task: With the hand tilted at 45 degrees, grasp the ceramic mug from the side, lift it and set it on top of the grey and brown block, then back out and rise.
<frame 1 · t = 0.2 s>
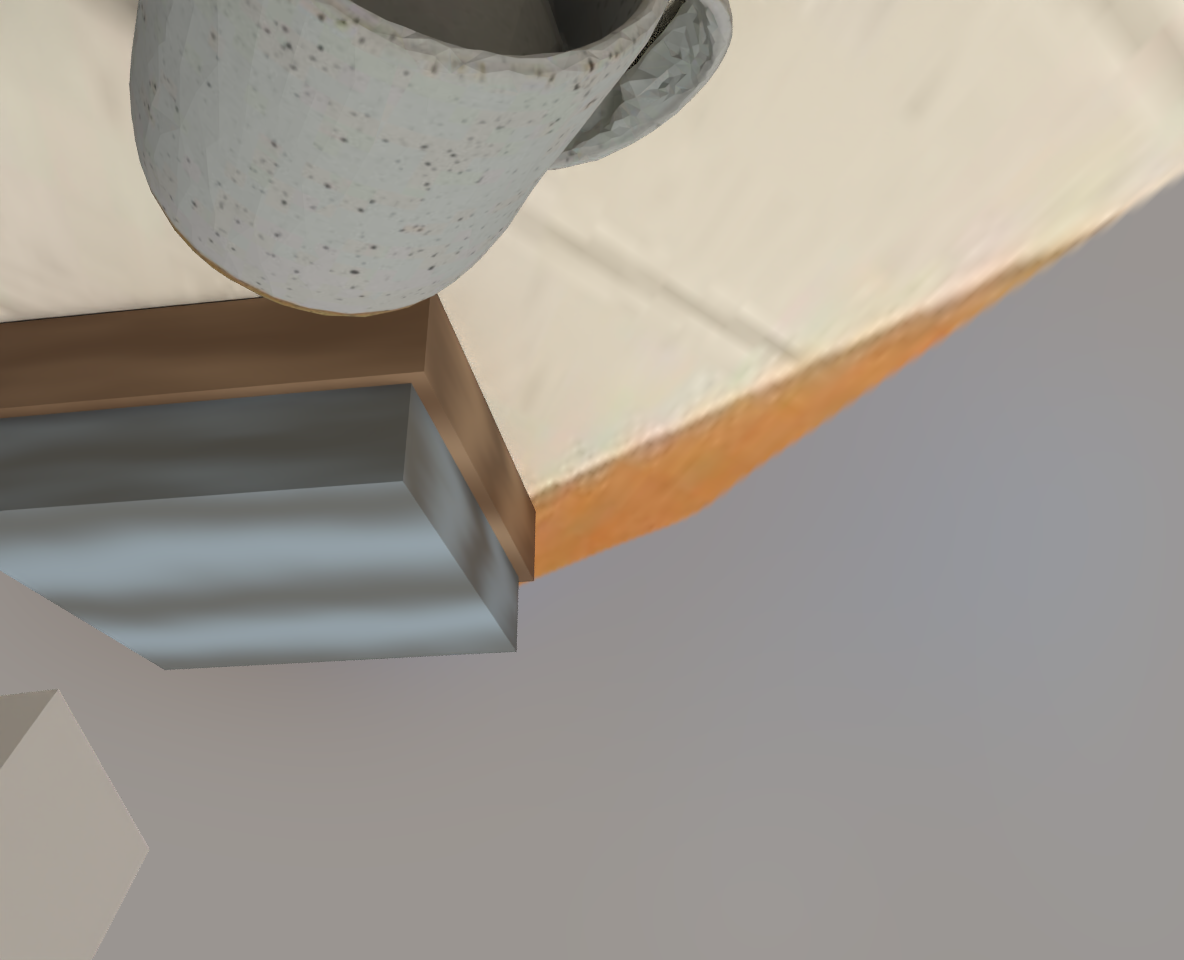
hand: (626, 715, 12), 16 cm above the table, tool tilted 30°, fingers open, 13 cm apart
grey and brown block: (283, 434, 38), on the table
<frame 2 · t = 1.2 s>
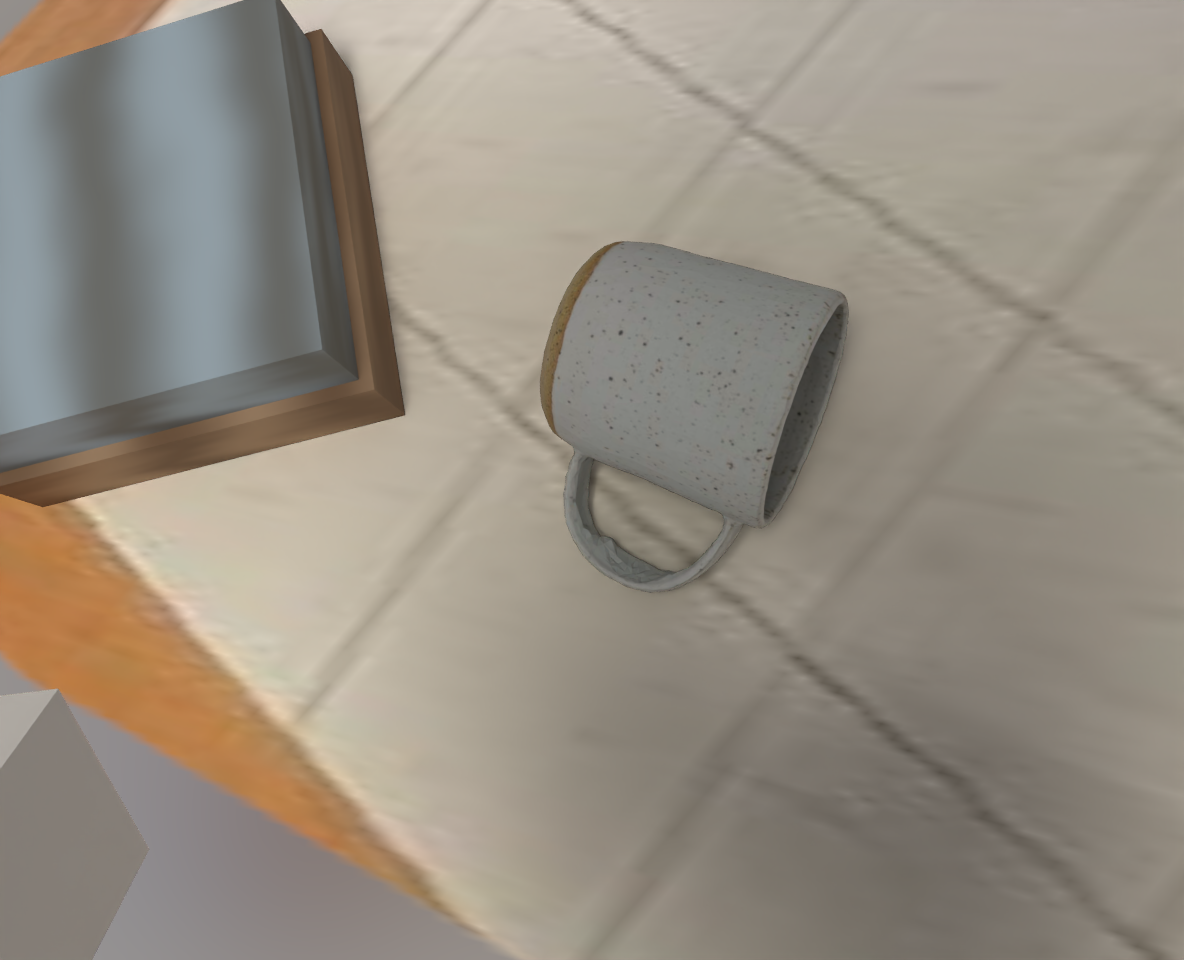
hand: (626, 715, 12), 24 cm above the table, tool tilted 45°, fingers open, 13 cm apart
ceramic mug: (696, 448, 38), on the table
grey and brown block: (201, 285, 43), on the table
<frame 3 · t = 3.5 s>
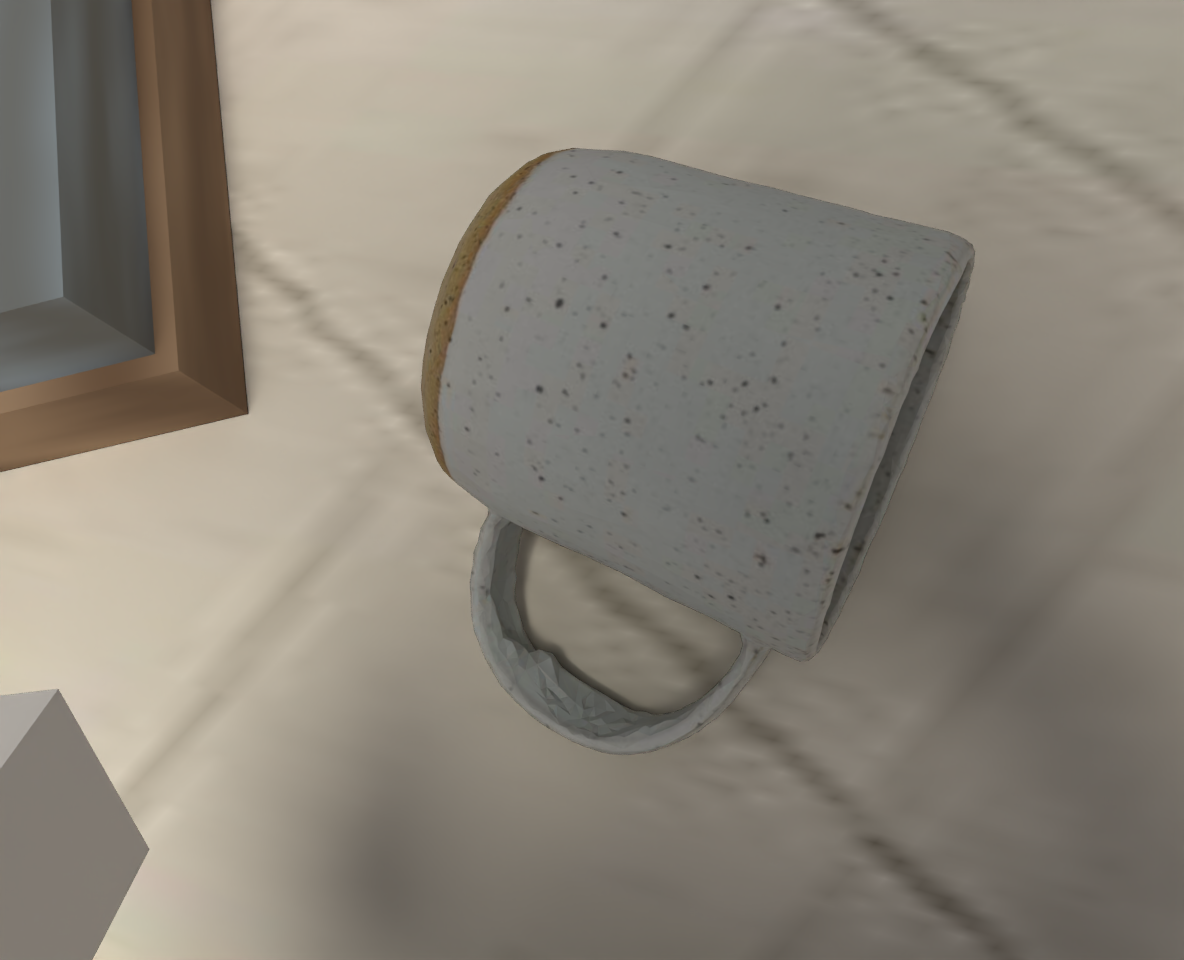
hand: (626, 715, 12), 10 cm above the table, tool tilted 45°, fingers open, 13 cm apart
ceramic mug: (696, 504, 23), on the table
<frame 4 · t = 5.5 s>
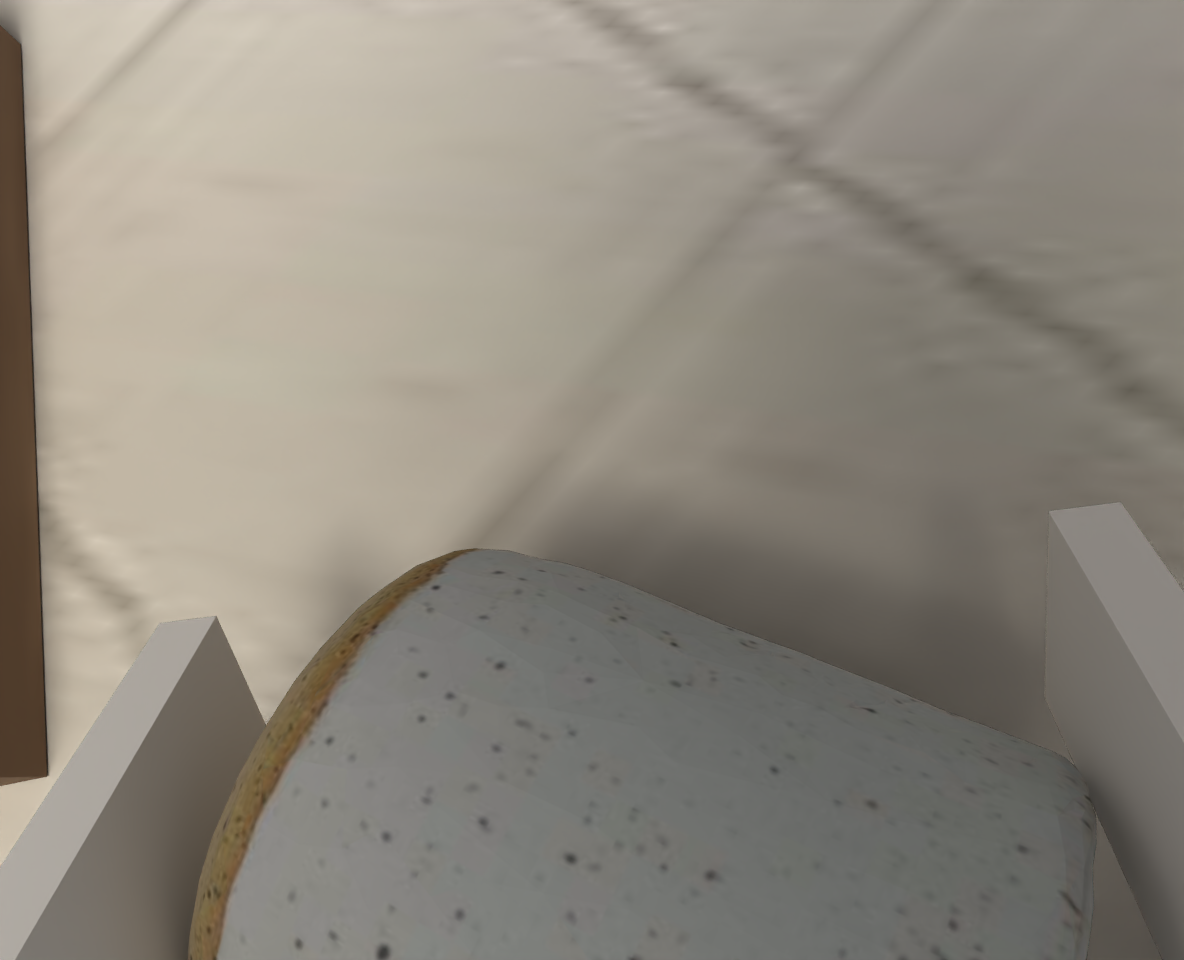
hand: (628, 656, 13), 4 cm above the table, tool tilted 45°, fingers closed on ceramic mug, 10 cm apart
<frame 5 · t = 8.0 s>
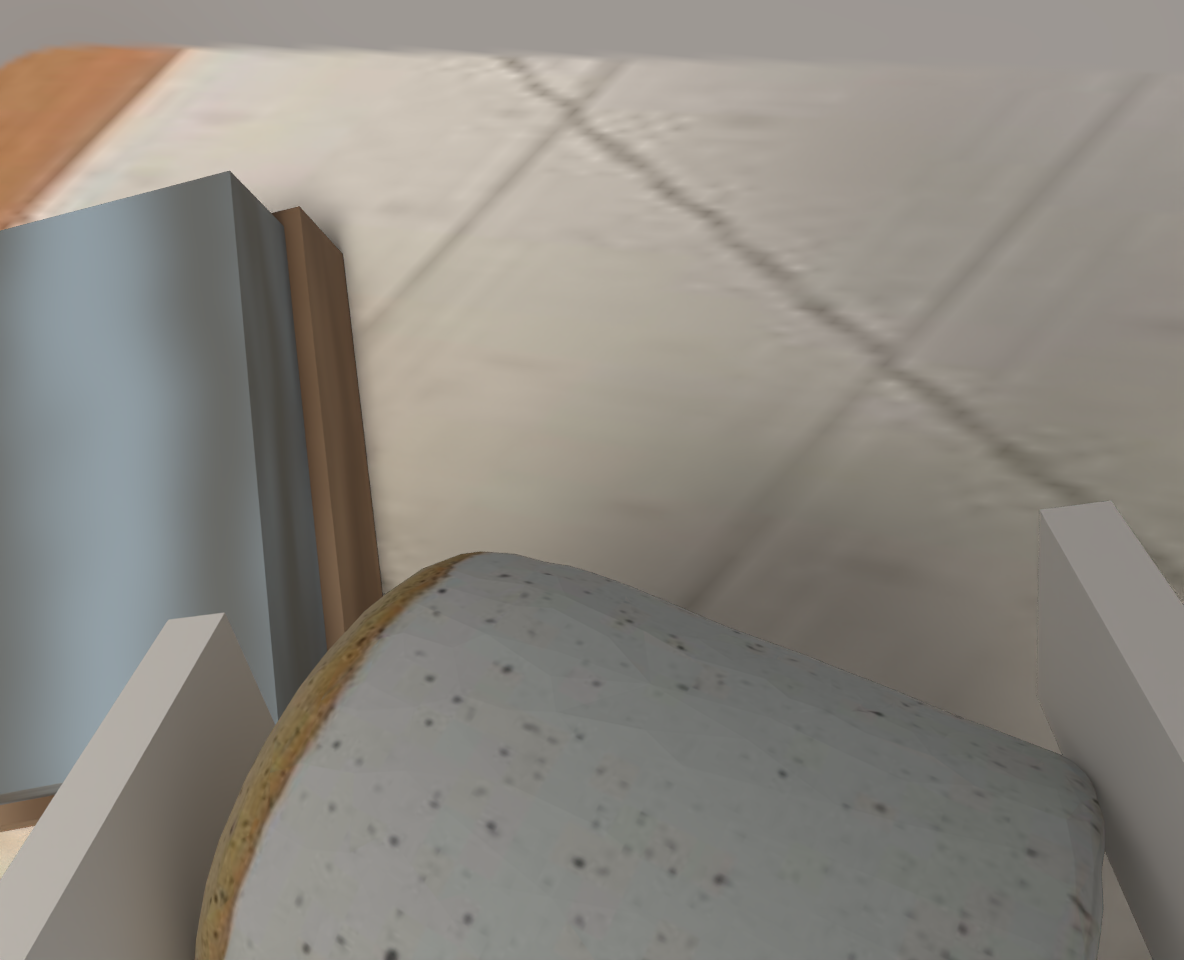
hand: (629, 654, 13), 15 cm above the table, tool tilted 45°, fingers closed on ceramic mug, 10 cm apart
grey and brown block: (128, 542, 31), on the table
when the fingers open (11 cm above the table, at t = 10.4 s): ceramic mug drops 1 cm, resting on grey and brown block.
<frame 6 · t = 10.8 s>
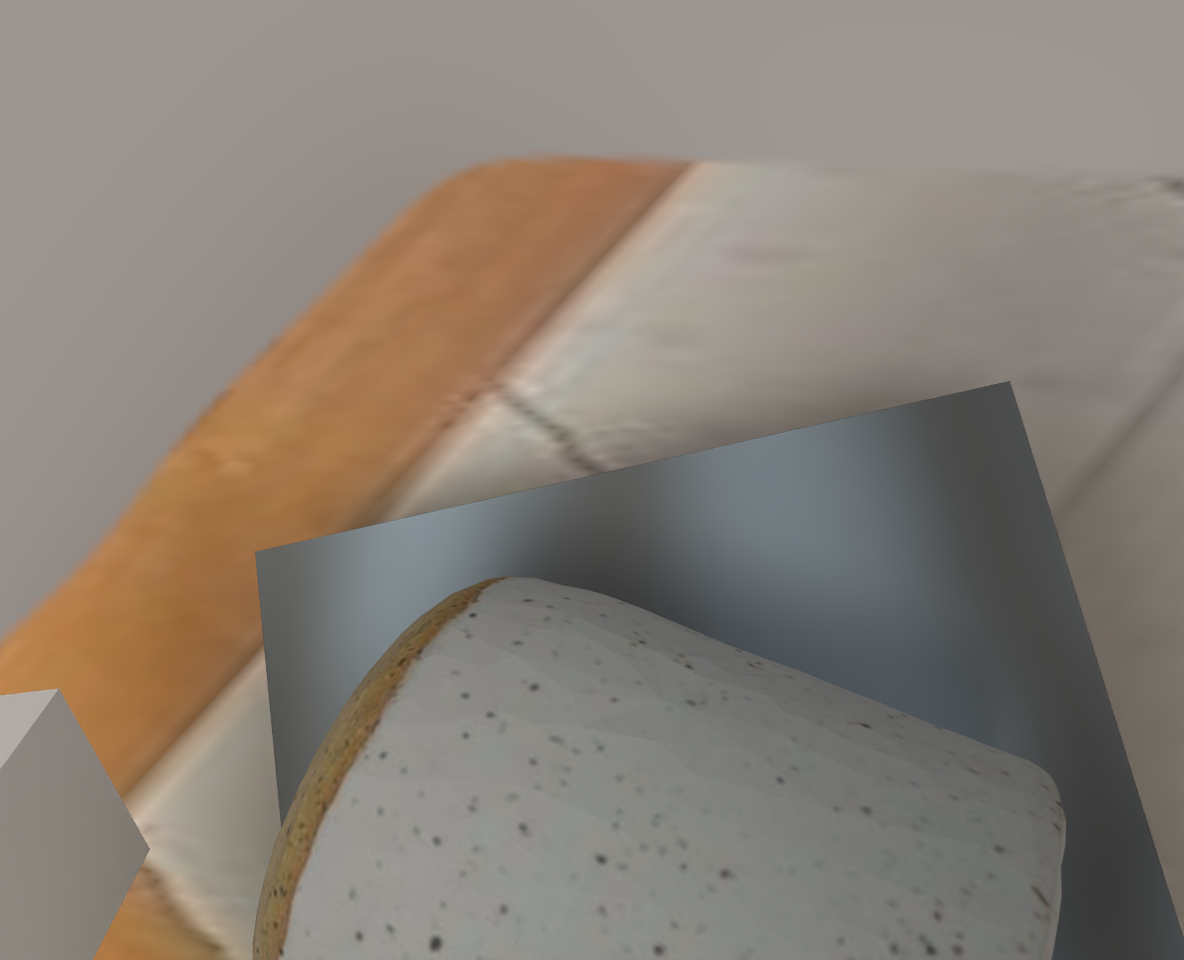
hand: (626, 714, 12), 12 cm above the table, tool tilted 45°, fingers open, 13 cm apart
grey and brown block: (718, 846, 23), on the table
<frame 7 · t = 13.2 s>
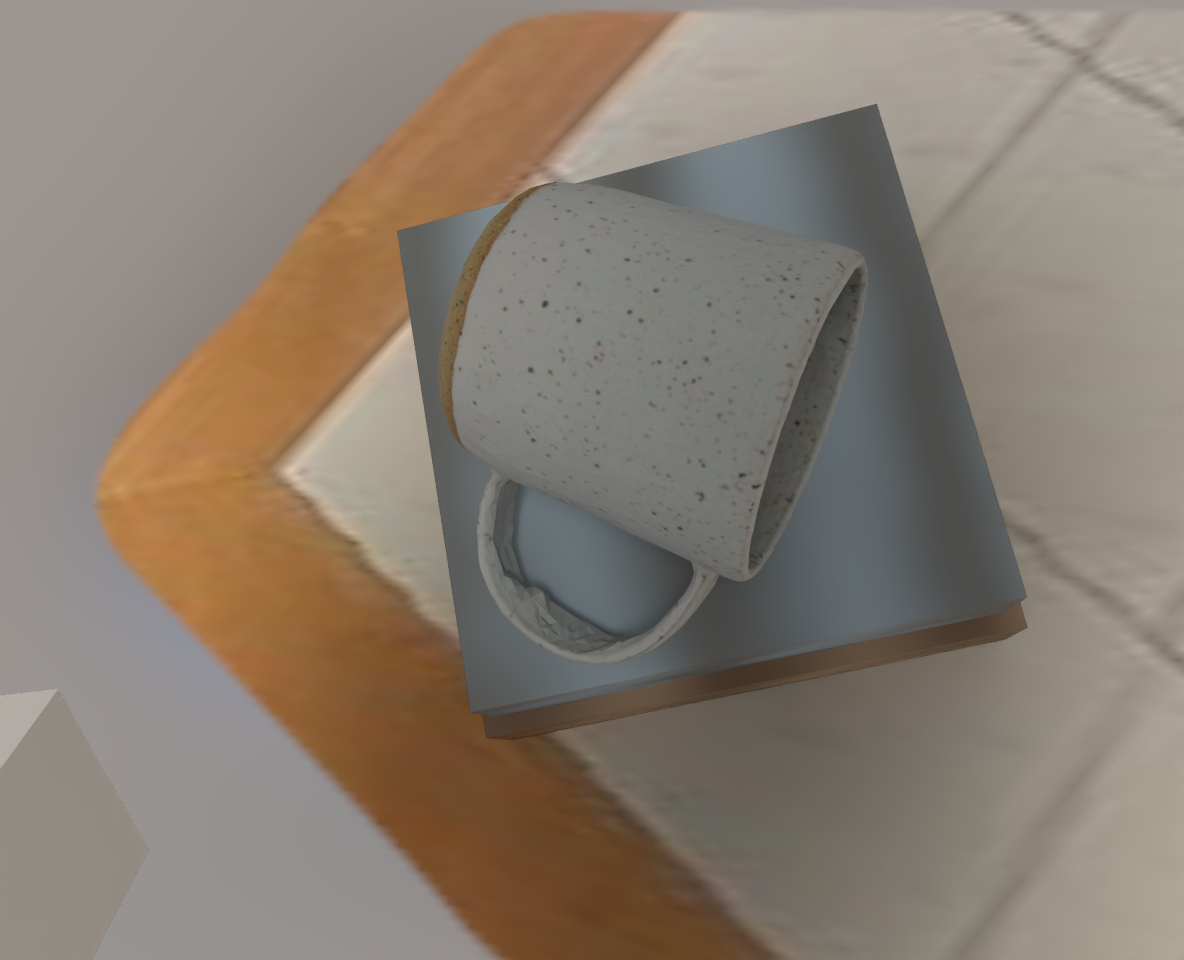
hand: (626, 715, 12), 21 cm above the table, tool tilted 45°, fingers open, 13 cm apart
ceramic mug: (660, 468, 28), point 6 cm above the table, touching grey and brown block
grey and brown block: (699, 456, 34), on the table
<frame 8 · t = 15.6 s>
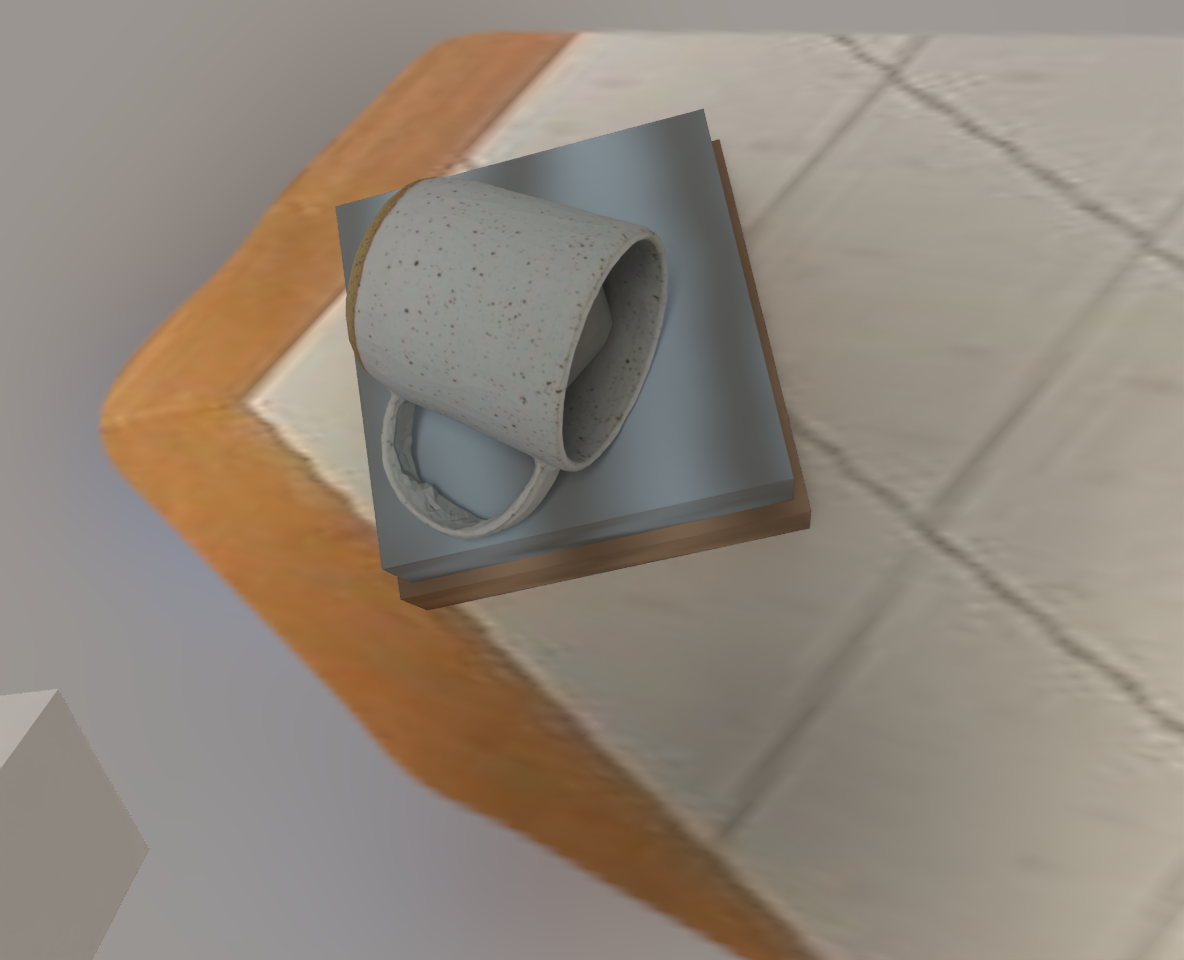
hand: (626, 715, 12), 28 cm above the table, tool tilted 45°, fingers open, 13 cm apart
ceramic mug: (527, 397, 37), point 6 cm above the table, touching grey and brown block
grey and brown block: (579, 388, 43), on the table
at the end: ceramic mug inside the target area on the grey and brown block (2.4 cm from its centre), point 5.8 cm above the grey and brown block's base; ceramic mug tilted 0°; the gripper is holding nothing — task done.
